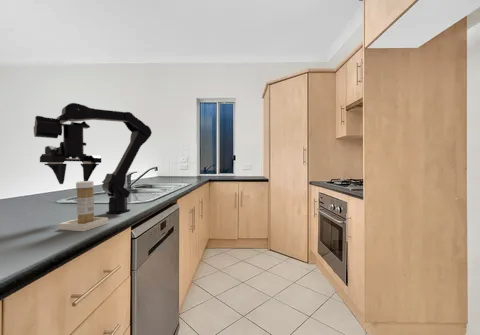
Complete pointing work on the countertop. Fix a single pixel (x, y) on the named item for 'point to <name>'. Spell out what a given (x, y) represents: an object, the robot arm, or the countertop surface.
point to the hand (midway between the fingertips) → (74, 182)
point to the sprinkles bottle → (85, 202)
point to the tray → (82, 227)
